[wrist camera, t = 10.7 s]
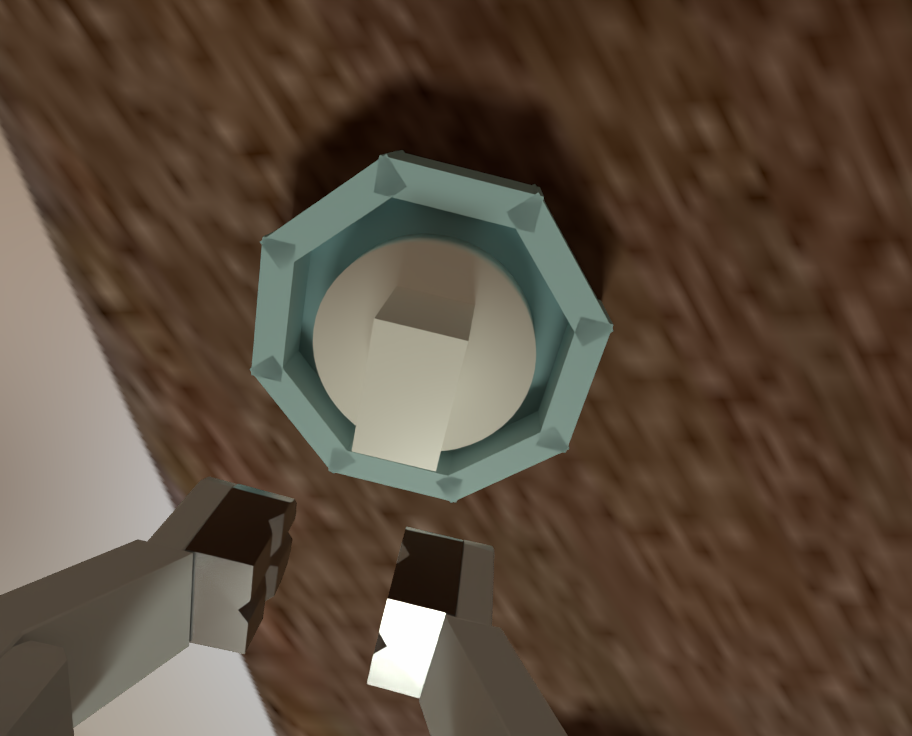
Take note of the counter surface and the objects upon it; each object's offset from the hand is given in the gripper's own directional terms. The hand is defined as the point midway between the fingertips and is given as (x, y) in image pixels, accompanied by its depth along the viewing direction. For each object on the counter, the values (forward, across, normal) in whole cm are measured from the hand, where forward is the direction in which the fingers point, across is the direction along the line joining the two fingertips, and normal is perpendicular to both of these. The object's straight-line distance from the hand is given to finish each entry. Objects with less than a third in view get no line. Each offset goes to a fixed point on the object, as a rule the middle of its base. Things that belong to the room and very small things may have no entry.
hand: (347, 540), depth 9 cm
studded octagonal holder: (+11, 0, 0) cm, 11 cm away
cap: (+10, 0, 0) cm, 10 cm away
